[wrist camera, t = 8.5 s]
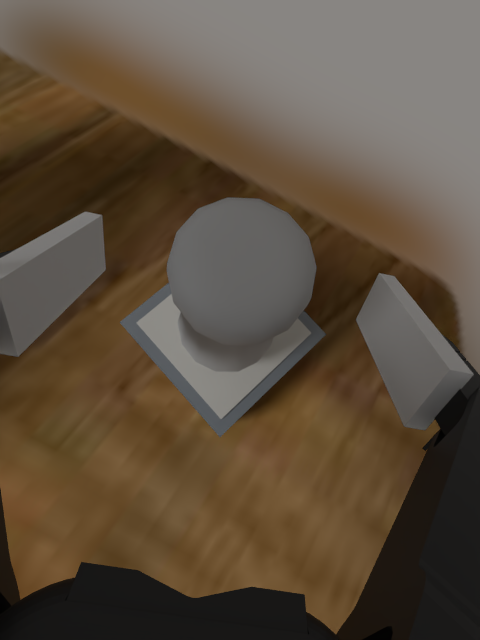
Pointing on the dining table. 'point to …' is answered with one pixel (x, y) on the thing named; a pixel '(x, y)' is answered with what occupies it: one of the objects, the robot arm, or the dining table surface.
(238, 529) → the dining table surface
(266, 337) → the salt shaker
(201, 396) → the slate plinth
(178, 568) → the dining table surface
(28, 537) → the dining table surface
